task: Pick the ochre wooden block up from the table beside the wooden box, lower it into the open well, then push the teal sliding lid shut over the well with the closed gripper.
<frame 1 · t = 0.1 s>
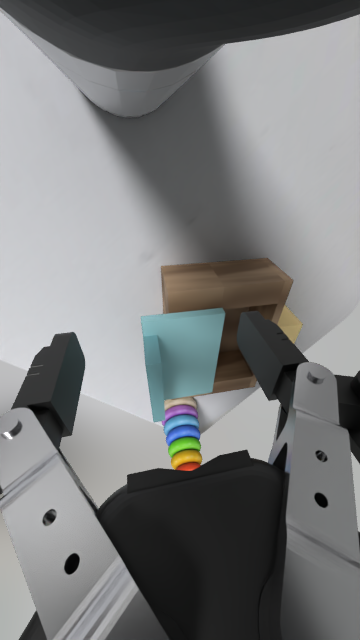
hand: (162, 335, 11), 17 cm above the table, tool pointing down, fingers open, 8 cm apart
ochre block: (268, 315, 36), on the table
stacking toy: (177, 403, 48), on the table
sliding lid: (185, 373, 27), point 9 cm above the table, slide at 0.0 cm
wooden box: (209, 322, 35), on the table
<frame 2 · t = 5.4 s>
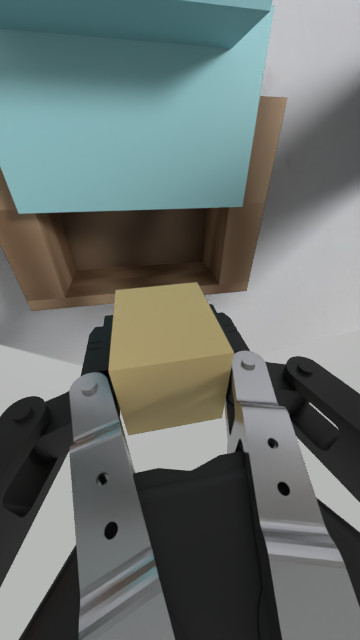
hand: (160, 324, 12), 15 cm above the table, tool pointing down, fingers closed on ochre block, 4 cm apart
ochre block: (160, 318, 12), point 14 cm above the table, touching gripper
sliding lid: (131, 119, 11), point 9 cm above the table, slide at 0.0 cm
wooden box: (136, 205, 22), on the table
when the fingers open (2 cm above the table, at t = 7.6 s): ochre block stays where it is, resting on wooden box.
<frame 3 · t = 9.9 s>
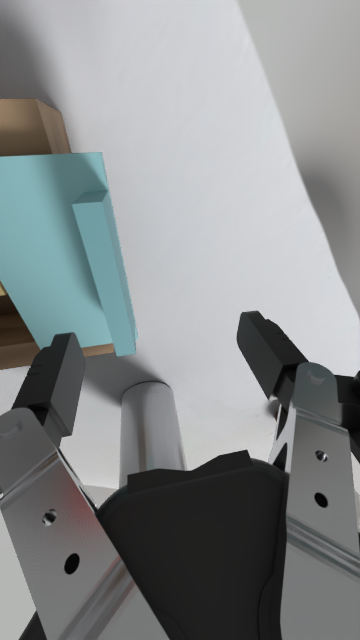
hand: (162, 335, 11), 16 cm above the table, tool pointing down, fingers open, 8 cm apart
sliding lid: (60, 285, 16), point 9 cm above the table, slide at 0.0 cm
wooden box: (23, 250, 22), on the table
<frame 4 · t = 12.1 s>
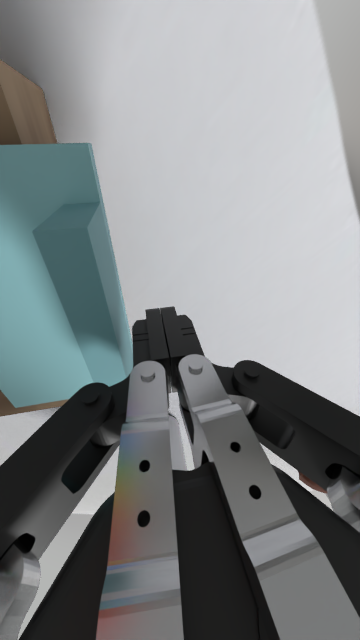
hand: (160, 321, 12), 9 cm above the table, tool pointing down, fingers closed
sliding lid: (30, 335, 11), point 9 cm above the table, slide at 0.3 cm, touching gripper
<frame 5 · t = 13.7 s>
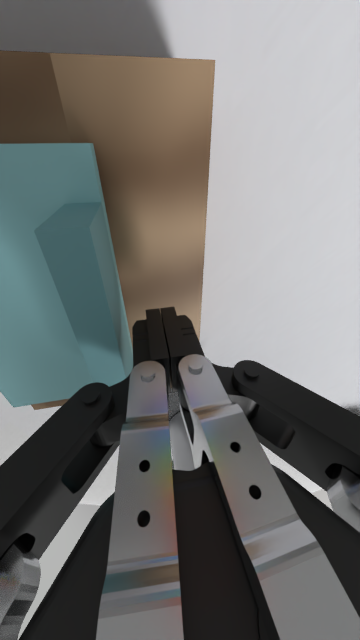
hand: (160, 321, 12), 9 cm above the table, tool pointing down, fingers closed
sliding lid: (30, 334, 11), point 9 cm above the table, slide at 8.1 cm, touching gripper
wooden box: (100, 261, 18), on the table
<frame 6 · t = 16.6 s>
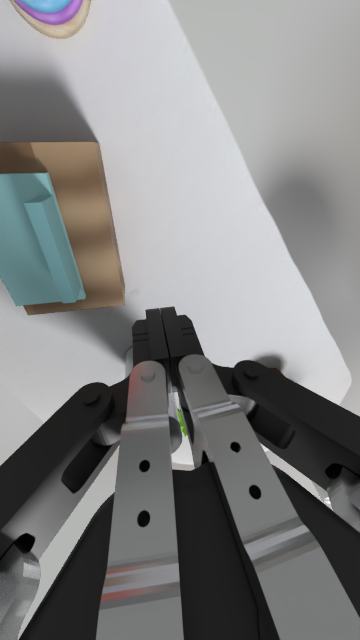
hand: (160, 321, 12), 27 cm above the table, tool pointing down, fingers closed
sliding lid: (24, 253, 26), point 9 cm above the table, slide at 8.1 cm
wooden box: (65, 230, 33), on the table
skyscraper: (282, 407, 79), on the table
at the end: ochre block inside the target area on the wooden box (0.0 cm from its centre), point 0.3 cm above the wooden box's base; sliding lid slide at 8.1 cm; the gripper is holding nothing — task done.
